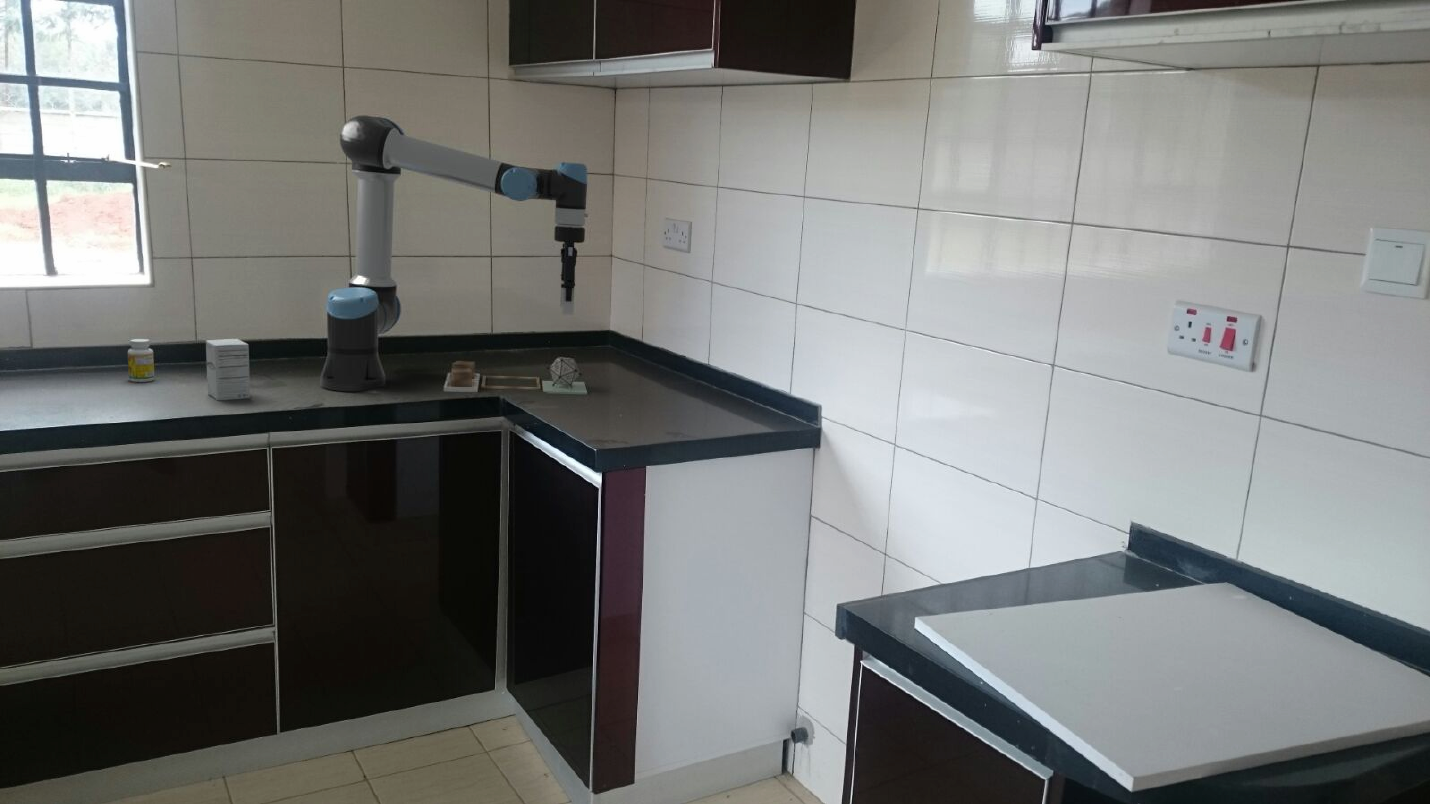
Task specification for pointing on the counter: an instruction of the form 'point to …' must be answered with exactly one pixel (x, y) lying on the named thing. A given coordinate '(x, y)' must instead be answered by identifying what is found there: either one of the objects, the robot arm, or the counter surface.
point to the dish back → (477, 378)
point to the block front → (461, 378)
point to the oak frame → (511, 387)
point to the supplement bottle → (140, 361)
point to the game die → (564, 371)
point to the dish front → (461, 389)
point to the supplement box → (228, 369)
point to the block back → (465, 366)
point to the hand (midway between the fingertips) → (566, 310)
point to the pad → (564, 388)
